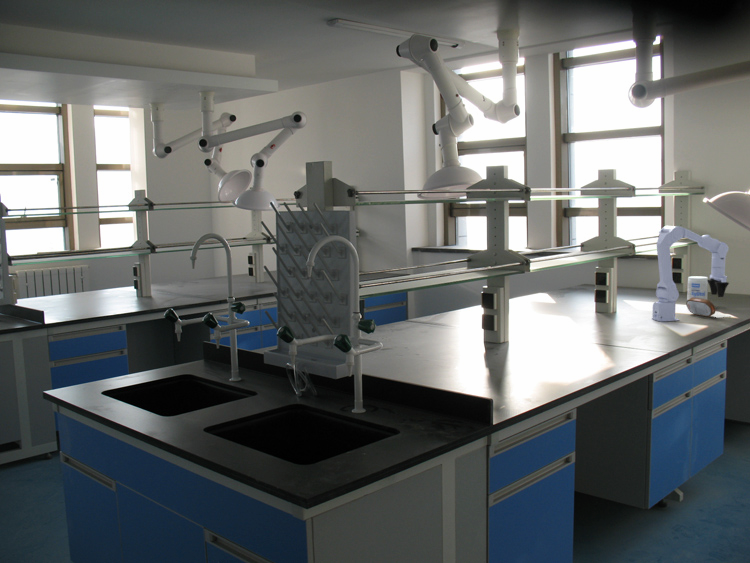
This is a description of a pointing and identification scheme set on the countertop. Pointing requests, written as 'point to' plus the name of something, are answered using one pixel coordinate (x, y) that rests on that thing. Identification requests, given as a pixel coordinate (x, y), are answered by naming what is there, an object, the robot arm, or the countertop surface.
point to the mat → (719, 315)
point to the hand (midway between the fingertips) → (717, 295)
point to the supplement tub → (697, 287)
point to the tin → (700, 306)
